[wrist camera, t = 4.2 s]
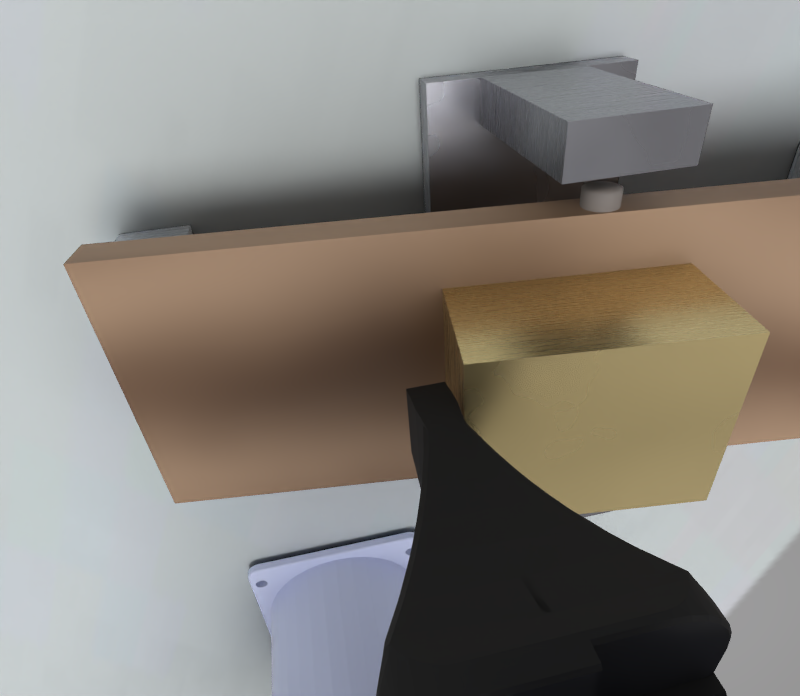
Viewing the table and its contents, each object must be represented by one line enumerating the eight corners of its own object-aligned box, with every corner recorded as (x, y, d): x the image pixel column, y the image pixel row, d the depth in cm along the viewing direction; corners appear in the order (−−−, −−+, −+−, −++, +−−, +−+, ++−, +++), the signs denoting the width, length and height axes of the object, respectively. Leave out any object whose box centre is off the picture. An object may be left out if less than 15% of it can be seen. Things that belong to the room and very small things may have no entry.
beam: (915, 410, 18) (1038, 508, 15) (186, 486, 18) (150, 605, 14) (1090, 134, 13) (1336, 192, 10) (74, 228, 13) (-22, 322, 9)
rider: (651, 417, 16) (706, 499, 14) (447, 439, 16) (465, 526, 13) (691, 263, 13) (769, 332, 11) (442, 288, 13) (463, 364, 11)
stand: (766, 352, 24) (892, 449, 19) (205, 457, 21) (187, 604, 16) (895, 26, 17) (1147, 50, 12) (72, 116, 14) (-30, 196, 9)
